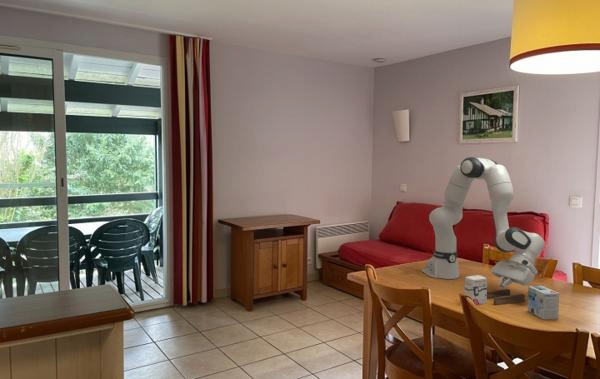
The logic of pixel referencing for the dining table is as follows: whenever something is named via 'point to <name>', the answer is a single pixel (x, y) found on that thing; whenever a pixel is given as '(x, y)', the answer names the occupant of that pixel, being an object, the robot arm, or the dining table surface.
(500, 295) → the walnut chute
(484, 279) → the ink box
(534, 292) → the light bulb box
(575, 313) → the dining table surface
